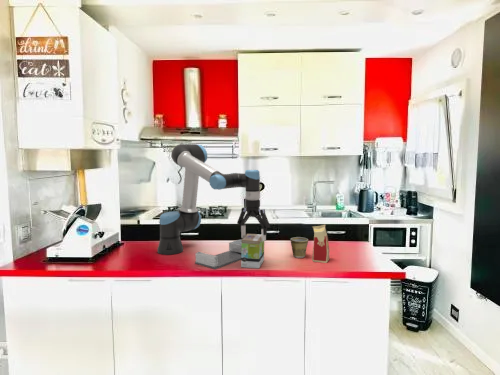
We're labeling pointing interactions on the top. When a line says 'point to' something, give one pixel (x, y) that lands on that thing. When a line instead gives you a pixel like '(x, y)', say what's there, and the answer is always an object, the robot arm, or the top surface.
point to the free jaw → (235, 246)
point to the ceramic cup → (299, 246)
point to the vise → (217, 259)
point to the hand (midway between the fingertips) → (253, 239)
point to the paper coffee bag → (320, 245)
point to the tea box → (252, 251)
